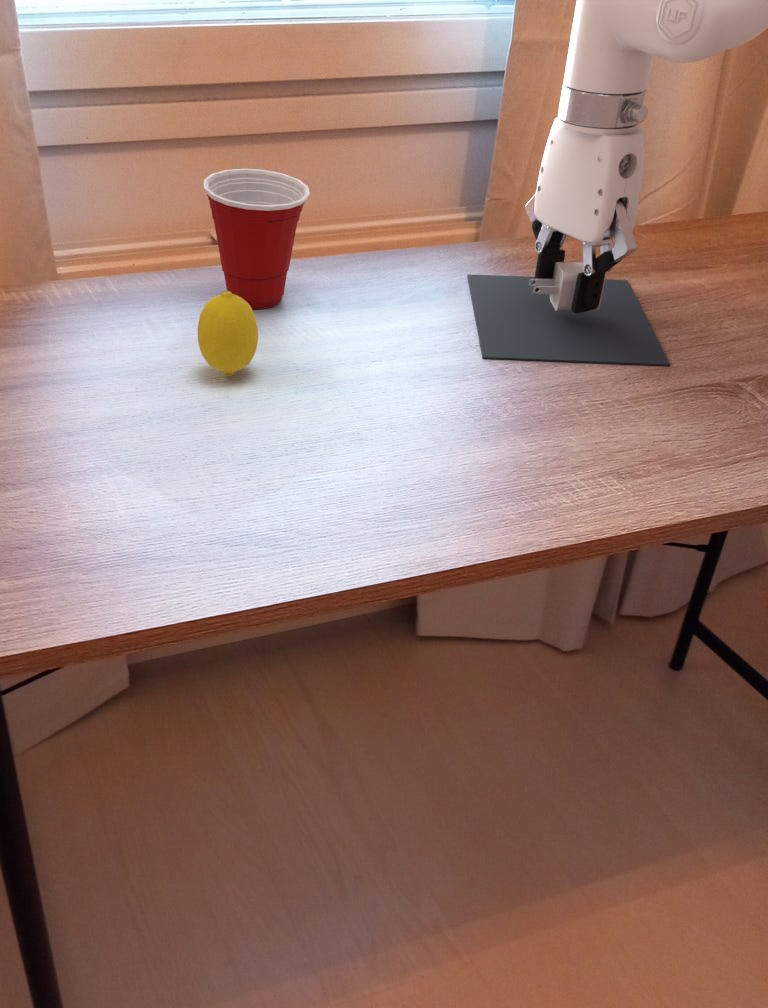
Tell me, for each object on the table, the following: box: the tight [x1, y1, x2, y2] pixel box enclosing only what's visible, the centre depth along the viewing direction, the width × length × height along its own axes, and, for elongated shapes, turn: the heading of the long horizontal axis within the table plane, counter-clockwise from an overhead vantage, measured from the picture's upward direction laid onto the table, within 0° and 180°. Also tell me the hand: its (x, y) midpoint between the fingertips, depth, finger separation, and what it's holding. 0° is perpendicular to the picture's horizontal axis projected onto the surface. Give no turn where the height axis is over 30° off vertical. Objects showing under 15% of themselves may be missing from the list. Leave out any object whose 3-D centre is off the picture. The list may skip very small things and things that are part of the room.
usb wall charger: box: [529, 261, 607, 311], centre depth 105 cm, size 4×7×4 cm, turn 90°
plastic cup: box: [203, 168, 311, 310], centre depth 106 cm, size 11×11×12 cm
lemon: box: [197, 290, 259, 377], centre depth 93 cm, size 6×6×8 cm
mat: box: [466, 273, 671, 367], centre depth 107 cm, size 22×18×1 cm
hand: (564, 298), depth 106 cm, fingers closed on usb wall charger, 5 cm apart
